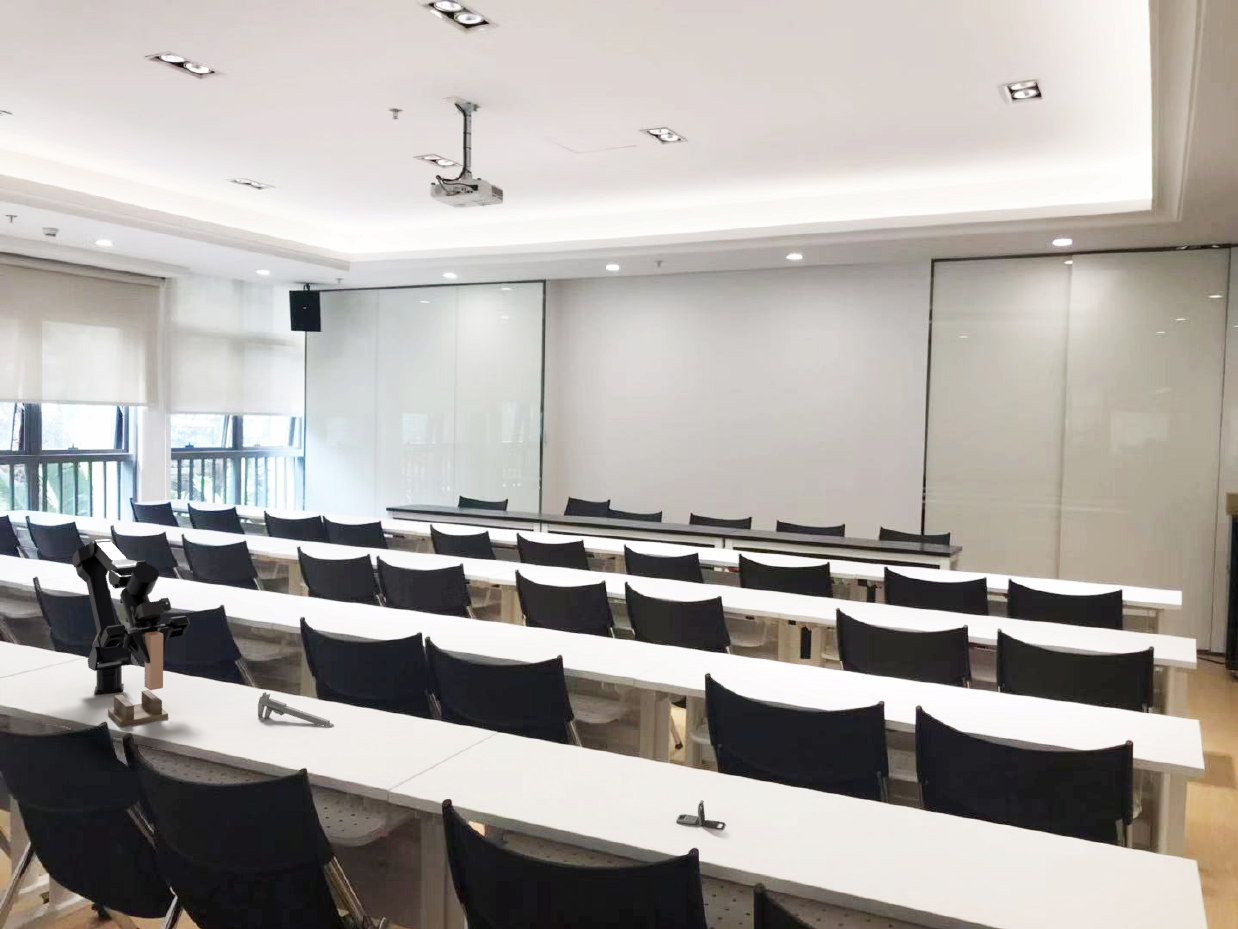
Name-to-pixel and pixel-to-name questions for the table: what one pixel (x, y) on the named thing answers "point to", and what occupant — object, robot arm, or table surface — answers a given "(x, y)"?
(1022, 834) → the table surface
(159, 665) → the clay block
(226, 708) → the table surface
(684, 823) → the strap clip
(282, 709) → the caliper
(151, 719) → the slot rack
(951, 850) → the table surface
